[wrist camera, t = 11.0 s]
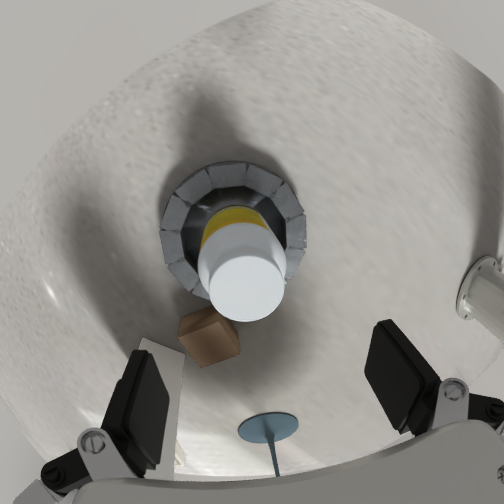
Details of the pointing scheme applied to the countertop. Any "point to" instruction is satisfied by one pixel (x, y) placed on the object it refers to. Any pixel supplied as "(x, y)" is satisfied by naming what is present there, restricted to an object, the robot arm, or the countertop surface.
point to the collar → (221, 195)
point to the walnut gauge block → (208, 336)
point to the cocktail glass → (269, 431)
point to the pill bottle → (241, 264)
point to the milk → (171, 374)
